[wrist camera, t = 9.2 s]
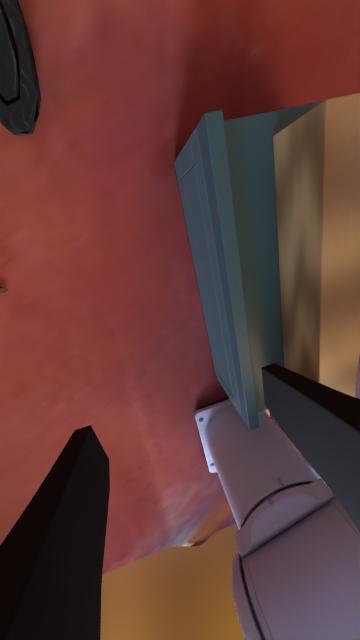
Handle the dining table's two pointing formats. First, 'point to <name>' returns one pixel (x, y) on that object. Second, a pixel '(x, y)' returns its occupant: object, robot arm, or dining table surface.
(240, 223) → the shelf
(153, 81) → the dining table surface
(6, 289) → the place setting
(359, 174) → the stick
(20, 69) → the hairbrush
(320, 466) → the robot arm
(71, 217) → the dining table surface
